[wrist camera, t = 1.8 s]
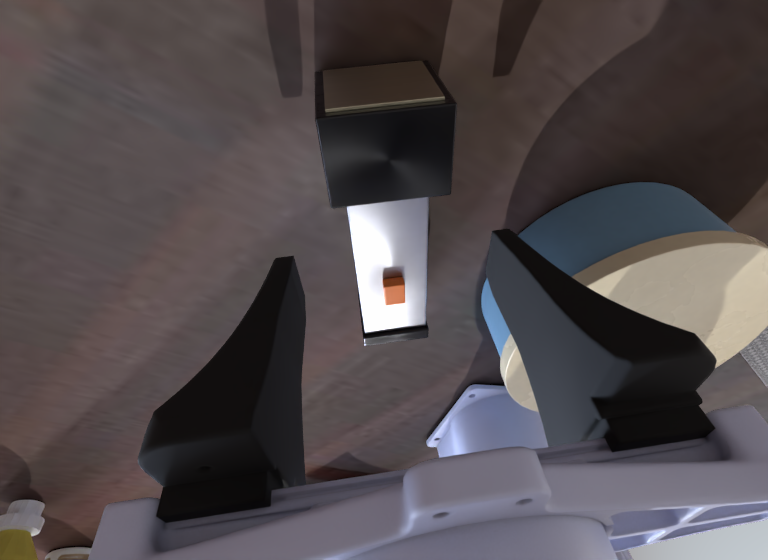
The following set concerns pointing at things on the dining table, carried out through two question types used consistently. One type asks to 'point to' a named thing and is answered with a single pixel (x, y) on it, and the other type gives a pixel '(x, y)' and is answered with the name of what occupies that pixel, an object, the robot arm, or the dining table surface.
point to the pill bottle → (69, 554)
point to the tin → (648, 268)
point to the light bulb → (20, 530)
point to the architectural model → (758, 355)
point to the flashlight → (387, 181)
